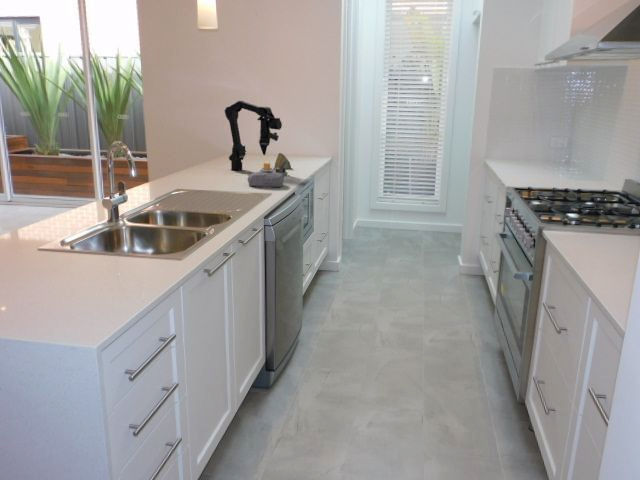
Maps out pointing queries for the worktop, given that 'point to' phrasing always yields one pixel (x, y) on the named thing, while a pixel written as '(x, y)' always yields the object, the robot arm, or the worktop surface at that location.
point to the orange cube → (266, 166)
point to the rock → (281, 161)
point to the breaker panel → (276, 170)
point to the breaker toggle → (284, 165)
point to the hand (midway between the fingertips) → (264, 153)
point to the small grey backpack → (266, 179)
